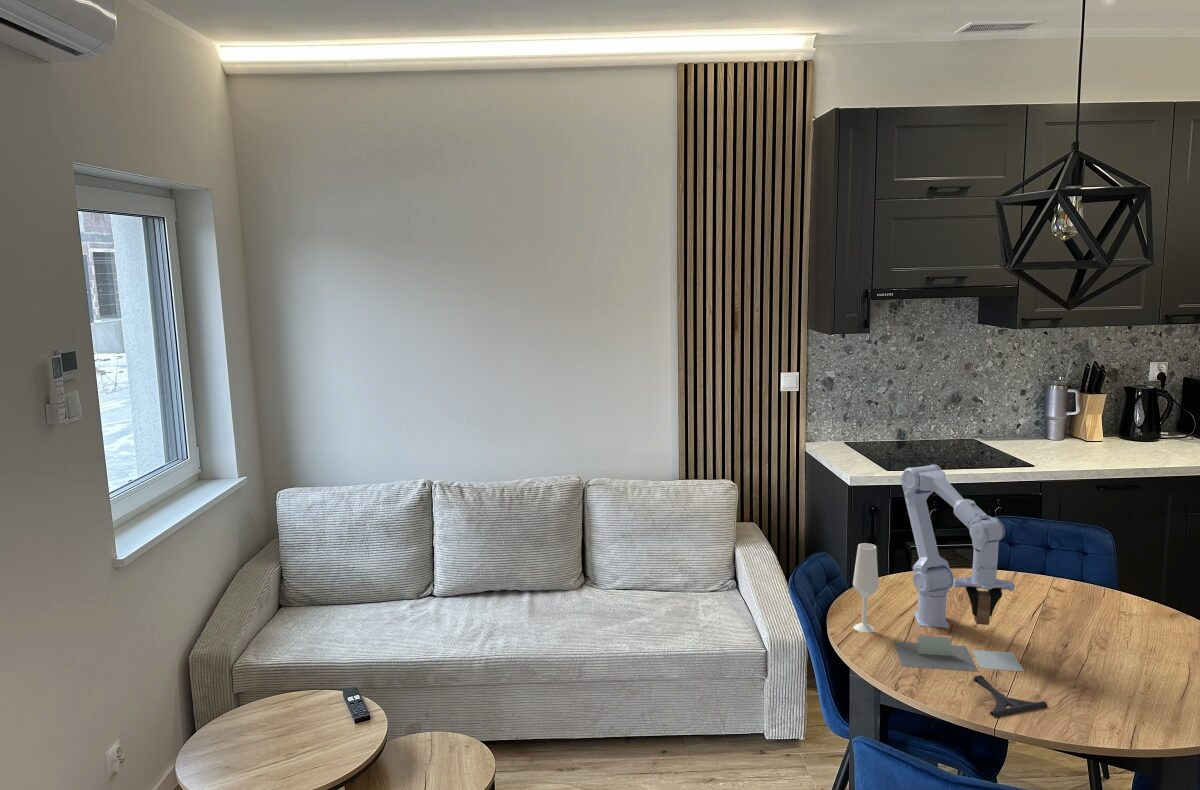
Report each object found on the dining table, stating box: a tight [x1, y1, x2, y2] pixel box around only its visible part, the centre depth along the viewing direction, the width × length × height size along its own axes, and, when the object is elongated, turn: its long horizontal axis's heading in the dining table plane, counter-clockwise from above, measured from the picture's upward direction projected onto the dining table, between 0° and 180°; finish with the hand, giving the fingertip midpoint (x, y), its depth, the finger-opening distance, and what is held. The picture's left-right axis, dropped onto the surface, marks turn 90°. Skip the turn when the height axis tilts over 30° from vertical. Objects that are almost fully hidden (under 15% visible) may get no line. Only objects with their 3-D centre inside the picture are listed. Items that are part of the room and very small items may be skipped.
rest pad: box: [971, 649, 1025, 672], centre depth 217 cm, size 10×10×1 cm
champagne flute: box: [852, 542, 879, 634], centre depth 235 cm, size 7×7×24 cm
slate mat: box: [894, 640, 979, 673], centre depth 220 cm, size 14×18×1 cm
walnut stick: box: [973, 590, 991, 626], centre depth 223 cm, size 3×3×8 cm
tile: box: [917, 633, 953, 656], centre depth 221 cm, size 1×8×5 cm, turn 79°
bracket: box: [973, 675, 1048, 718], centre depth 201 cm, size 14×15×3 cm
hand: (981, 614), depth 223 cm, fingers closed on walnut stick, 3 cm apart
